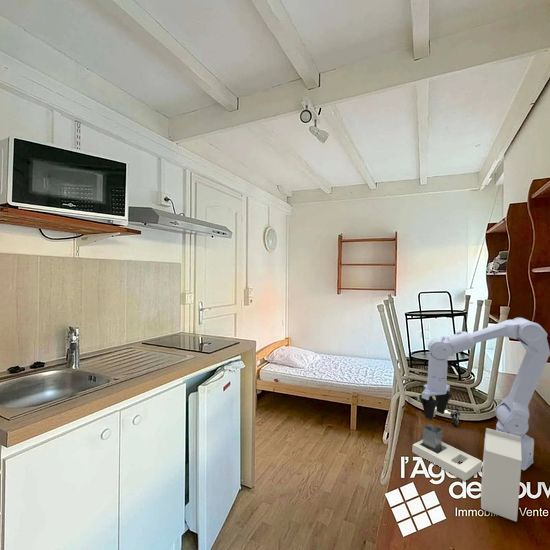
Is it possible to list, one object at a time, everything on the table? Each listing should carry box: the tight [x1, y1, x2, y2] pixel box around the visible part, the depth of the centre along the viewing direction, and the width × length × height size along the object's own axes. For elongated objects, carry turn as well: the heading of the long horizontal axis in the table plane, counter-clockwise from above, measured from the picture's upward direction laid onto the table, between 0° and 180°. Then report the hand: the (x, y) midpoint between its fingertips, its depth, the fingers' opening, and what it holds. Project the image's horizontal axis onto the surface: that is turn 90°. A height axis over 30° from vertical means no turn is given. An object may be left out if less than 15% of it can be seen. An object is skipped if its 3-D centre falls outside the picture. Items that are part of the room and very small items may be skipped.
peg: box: [422, 423, 444, 454], centre depth 103 cm, size 4×4×8 cm
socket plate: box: [411, 438, 483, 482], centre depth 99 cm, size 16×10×2 cm, turn 35°
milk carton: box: [480, 427, 522, 523], centre depth 80 cm, size 7×7×19 cm
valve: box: [433, 406, 461, 426], centre depth 126 cm, size 7×7×12 cm
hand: (434, 415), depth 109 cm, fingers open, 7 cm apart
